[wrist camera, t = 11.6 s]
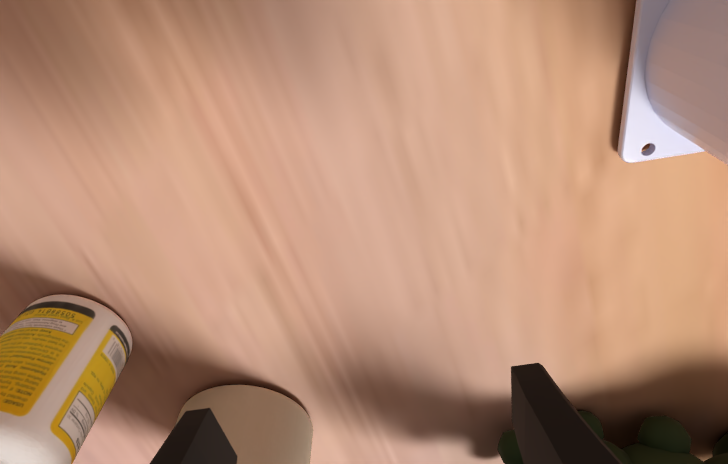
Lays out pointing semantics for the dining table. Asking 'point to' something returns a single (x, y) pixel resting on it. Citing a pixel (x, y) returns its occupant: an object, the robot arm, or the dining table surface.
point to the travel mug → (258, 423)
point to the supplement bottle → (57, 377)
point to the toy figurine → (637, 444)
